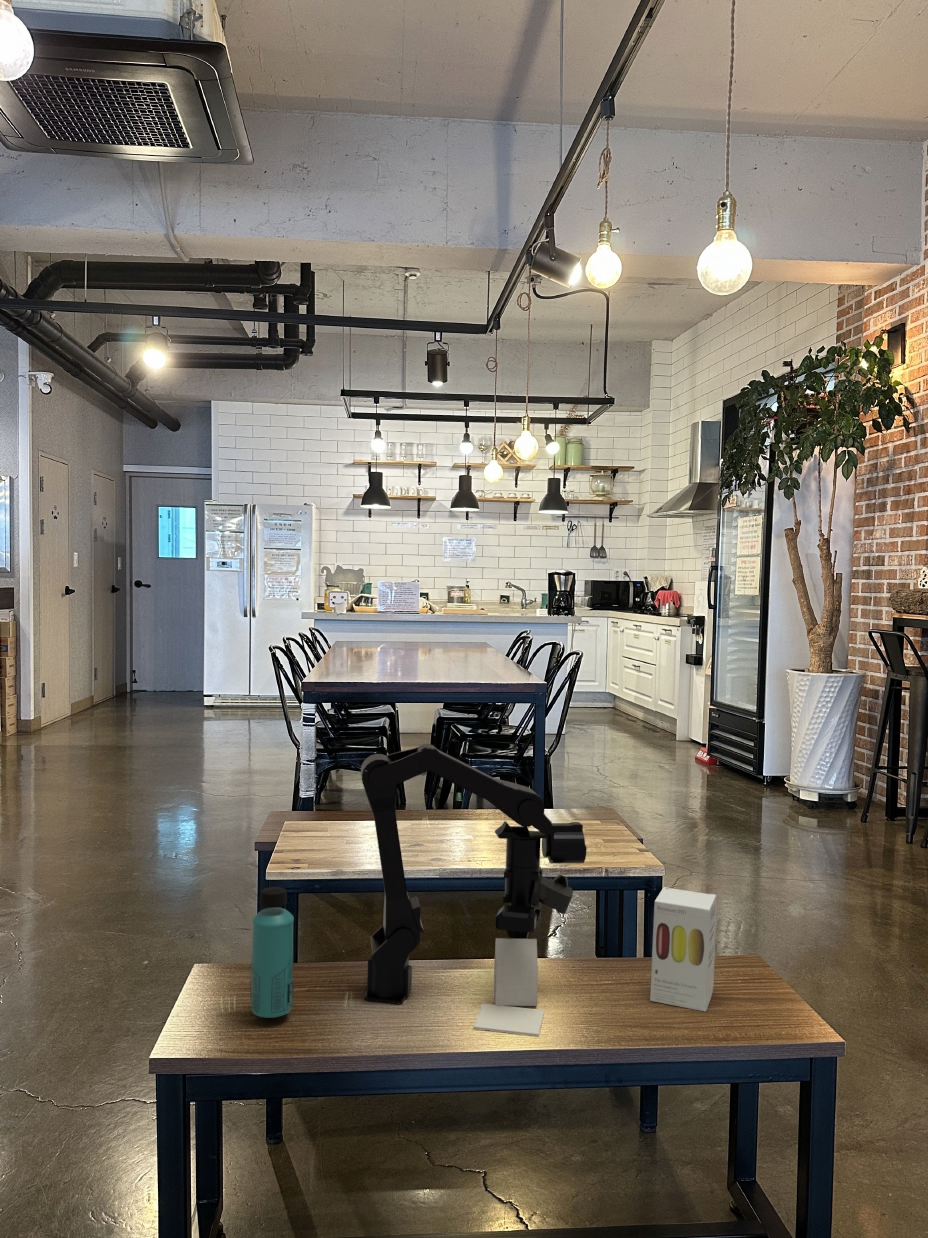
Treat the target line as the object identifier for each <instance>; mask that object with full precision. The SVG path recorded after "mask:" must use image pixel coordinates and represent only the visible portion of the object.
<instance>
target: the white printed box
mask: <svg viewBox="0 0 928 1238" xmlns="http://www.w3.org/2000/svg"><path fill="white" fill-rule="evenodd" d="M537 941H538V939H537V938H527V939H512V938H509V937H508V938H507V937H506V938H505V937H503V938H502V937H501V938H500V937H499V938H497V937H495V942H494V943H495V948H494V964H493V965H494V967H493V968H494V969H493V1001H494V1005H495V1006H510V1007H518V1006H519V1007H522V1006H523V1007H532V1006H533V1007H538V988H539V987H538V986H539V984H538V981H539V980H538V978H539V977H538V975H539V973H538V972H539V965H538V963H539V962H538V945H537V944H538V943H537Z"/></svg>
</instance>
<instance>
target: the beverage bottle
mask: <svg viewBox="0 0 928 1238" xmlns="http://www.w3.org/2000/svg"><path fill="white" fill-rule="evenodd" d="M287 893H288V892H287V890H286V888H284V887H280V886H279V887H277V886H273V887H272V886H271V887H265V888H264V889H262V890H261V891H260V899H259V905H260V906H262V907H266V908H263V909H261V910H260V911H258V913H257V914H255V916H254V917H253V918H252V946H251V948H252V949H251V950H252V951H251V952H252V953H251V956H250V957H251V963H250V967H251V980H250V983H251V985H250V991H249V992H250V993H249V994H250V998H249V999H250V1000H249V1001H250V1002H249V1003H250V1009H251V1012H252V1014H253V1015H255V1016H257V1017H260V1018H277V1017H283V1016H284V1015H287V1014H289V1013H290V1012H291V1010H292V1007H293V999H294V993H293V985H294V977H295V976H294V970H295V969H294V963H295V961H294V949H295V947H294V945H295V944H294V921H295V920H294V919H295V918H294V915H293V914H292V913H291V912H289V911H288V910H287V909H286V908H282V907H283V906H286V905H287V904H288V896H287V895H288V894H287Z"/></svg>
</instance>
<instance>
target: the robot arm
mask: <svg viewBox="0 0 928 1238" xmlns="http://www.w3.org/2000/svg"><path fill="white" fill-rule="evenodd" d="M427 772H430V773H432V774H434V775H435V776H438V778H439V777H440V778H442V779H443V780H446V781H447V782H449V783H451V784H454V785H456V786H458V787H460V788H462V789H464V790H466V791H467V792H470V793H472V794H474V795H475V796H478V797H480V798H482V799H484V800H485V801H487V802H489V803H490V804H491V805H493V806H494V807H496V809H498V810H499V811H500V812H502V813H503V814H504V815H505V816H507V817H508V818H509V819H511V820H512V821H513V822H515V823H516V824H518V826H516V825H515V826H514V825H510V824H509V822H507V821H505V820H503V822H502V824H501V825H500V826H499V827H497V828H496V829H495V830H494V833H495V835H496V836H497V838H498V839H500V840H501V839H504V840H505V839H506V843H505V844H506V845H505V847H506V848H505V849H506V850H505V869H504V870H503V878H504V879H505V882H504V894H503V896H502V903H504V905H503V906H502V907H501V908H500V909H498V912H497V914H496V915H495V929H497V930H501V931H506V933H507V935H508V936H507V937H508V938H512V939H529V938H528V937H529V934H530V933H533V932H535V930H536V927H537V924H538V921H539V917H540V915H541V909H538V908H536V907H540V903H541V904H542V905H545V906H547V907H549V908H550V909H553V910H555V911H556V912H557V913H559V914H562V915H565V914H566V913H567V911H568V909H569V905H570V903H571V901H572V898H573V895H574V890H573V889H572V887H571V886H569V883H568V877H567V876H565V875H562V874H560V873H559V874H558V875H557V876H556V877H555V878H552V877H549V878H547V877H544V876H543V869H542V867H541V864H540V863H541V855H542V856H543V858H544V859H545V858H547V860H548V863H549V864H553V865H554V864H556V865H558V864H559V865H561V864H584V863H585V861H586V857H587V845H586V839H585V834H584V831H583V830H584V824H582V823H581V822H579V821H570V822H552V820H550V818H548V816H546V814H545V804H544V800H543V799H542V797H541V796H539V795H538V794H537V793H536V792H535V791H534V790H533V789H532V788H530V787H528V786H527V785H526V786H525V785H521V784H518V783H515V782H511V781H507V780H503V779H500V778H499V779H498V778H495V777H493V776H492V775H489V774H487V773H485V772H483V771H481V770H479V769H477V768H475V767H473V766H472V765H469V764H467V763H465V762H463V761H461V760H459V759H457V758H455V757H453V756H451V755H450V754H448V753H445V752H443V751H442V750H439V749H438V748H437V747H435V746H434V745H433V744H429V743H424V744H421V745H420V746H416V747H414V748H409V749H406V750H401V751H396V752H394V753H389V754H388V755H385V754H382V753H374V754H371V755H369V756H368V757H367V758H366V759H365V760H363V762H362V764H361V767H360V775H361V776H360V777H361V783H362V785H363V789H364V791H365V794H366V797H367V800H368V803H369V806H370V808H371V812H372V814H373V818H374V820H373V821H374V827H375V832H376V840H377V848H378V853H379V860H380V865H381V866H380V867H381V874H382V882H383V886H384V900H383V901H384V902H383V915H382V916H383V917H382V918H383V919H382V921H383V923H382V925H381V926H380V927H379V928H377V929H376V931H375V932H374V933H373V934H371V936H370V947H371V954H370V955H369V956H368V958H367V977H366V979H367V980H366V981H367V982H366V992H365V994H364V995H363V1000H365V1001H373V1002H381V1003H391V1004H397V1005H398V1004H403V1003H404V1001H405V999H406V998H407V996H409V995H410V992H411V991H412V984H413V983H412V979H413V977H412V975H413V974H412V972H413V966H412V965H411V964H410V954H411V953H412V952H414V950H416V948H417V947H418V946H419V945H420V942H421V934H420V933H424V932H425V930H424V926H423V923H422V918H421V906H420V901H419V898H418V896H414V897H411V898H410V896H409V894H408V890H407V884H406V878H405V876H406V875H405V871H404V863H403V857H402V855H403V854H402V849H401V842H400V841H401V840H400V835H399V834H400V833H399V828H398V822H397V821H398V820H397V816H396V814H397V813H396V808H397V797H398V796H397V795H398V793H397V792H398V784H401V783H404V782H406V781H409V780H411V779H413V778H415V777H418V776H420V775H421V774H425V773H427ZM529 827H533V828H534V829H536V830H529ZM505 903H506V904H507V905H506V904H505Z"/></svg>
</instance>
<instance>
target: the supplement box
mask: <svg viewBox="0 0 928 1238" xmlns="http://www.w3.org/2000/svg"><path fill="white" fill-rule="evenodd" d="M717 898H718V896H717V894H714V893H704V892H697V891H691V890H685V889H678V888H677V889H676V888H670V887H667V886H663V888H662V889H661V891H660V892H659V894H658V895H657V896H656V899H655V900H654V907H653V927H652V928H653V930H652V931H653V932H652V950H651V953H652V954H651V971H650V972H651V976H650V994H649V995H650V997H649V1001H650V1002H656V1003H660V1004H664V1005H671V1006H675V1007H681V1008H685V1009H690V1010H694V1011H701V1012H707V1011H708V1008H709V1006H710V1002H711V999H712V996H713V993H714V983H715V981H714V975H715V955H716V953H715V952H716V951H715V950H716V946H715V945H716V938H717V937H716V933H717V929H716V927H717V900H718V899H717Z"/></svg>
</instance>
